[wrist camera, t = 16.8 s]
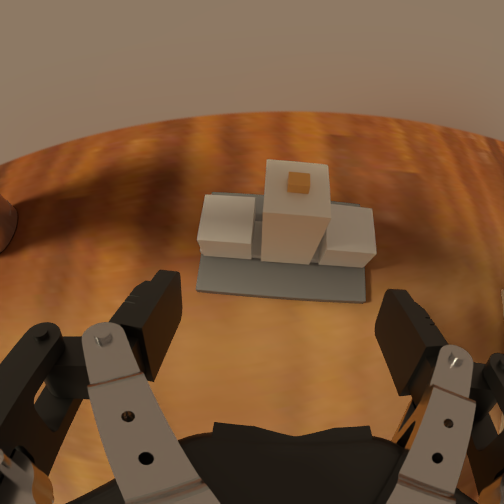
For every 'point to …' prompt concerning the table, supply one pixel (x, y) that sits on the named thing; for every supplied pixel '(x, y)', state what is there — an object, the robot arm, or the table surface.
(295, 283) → the rail board
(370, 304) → the table surface
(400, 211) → the table surface
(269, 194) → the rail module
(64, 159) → the table surface
